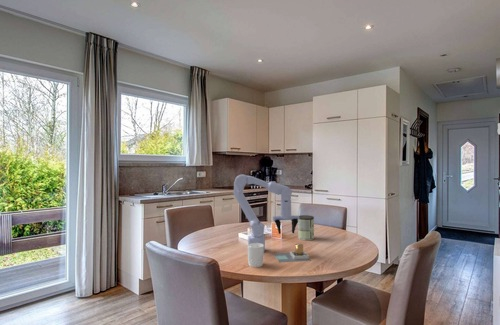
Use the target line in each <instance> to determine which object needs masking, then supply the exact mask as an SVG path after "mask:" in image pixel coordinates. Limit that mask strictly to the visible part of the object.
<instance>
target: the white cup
mask: <svg viewBox="0 0 500 325" xmlns="http://www.w3.org/2000/svg"><path fill="white" fill-rule="evenodd" d="M246 249H247V262H248V266H249V267H251V268H259V267H262V266H264V252H265V251H264V245H263V244H260V243H251V244H248V243H247V246H246Z"/></svg>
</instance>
